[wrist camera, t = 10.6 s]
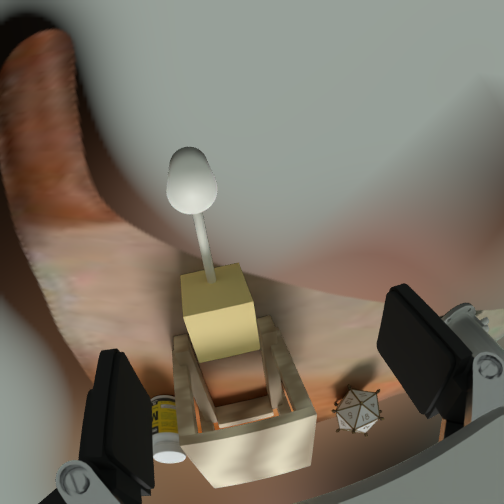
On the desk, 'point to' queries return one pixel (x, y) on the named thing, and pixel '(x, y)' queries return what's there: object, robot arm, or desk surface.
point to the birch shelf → (245, 417)
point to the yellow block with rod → (210, 270)
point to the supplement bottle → (165, 430)
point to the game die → (358, 411)
